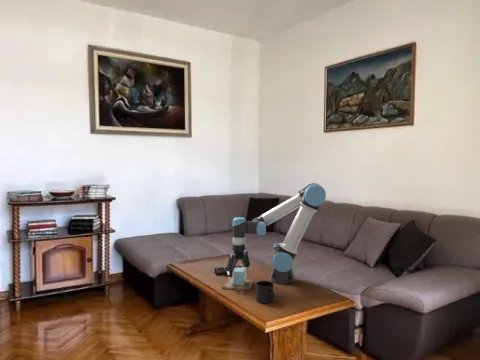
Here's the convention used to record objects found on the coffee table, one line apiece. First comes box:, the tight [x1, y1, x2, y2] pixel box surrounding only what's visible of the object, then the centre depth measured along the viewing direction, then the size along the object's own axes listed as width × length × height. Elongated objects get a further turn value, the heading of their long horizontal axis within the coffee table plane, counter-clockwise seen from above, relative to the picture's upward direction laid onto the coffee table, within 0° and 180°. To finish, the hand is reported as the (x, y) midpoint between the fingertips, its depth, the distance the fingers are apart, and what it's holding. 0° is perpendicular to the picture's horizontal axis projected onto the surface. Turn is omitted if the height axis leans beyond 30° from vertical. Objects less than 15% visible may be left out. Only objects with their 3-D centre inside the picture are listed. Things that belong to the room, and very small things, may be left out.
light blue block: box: [232, 267, 246, 286], centre depth 221 cm, size 7×7×9 cm
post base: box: [221, 277, 255, 292], centre depth 221 cm, size 16×16×7 cm
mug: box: [255, 280, 276, 304], centre depth 197 cm, size 9×12×9 cm
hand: (238, 280), depth 221 cm, fingers open, 11 cm apart
